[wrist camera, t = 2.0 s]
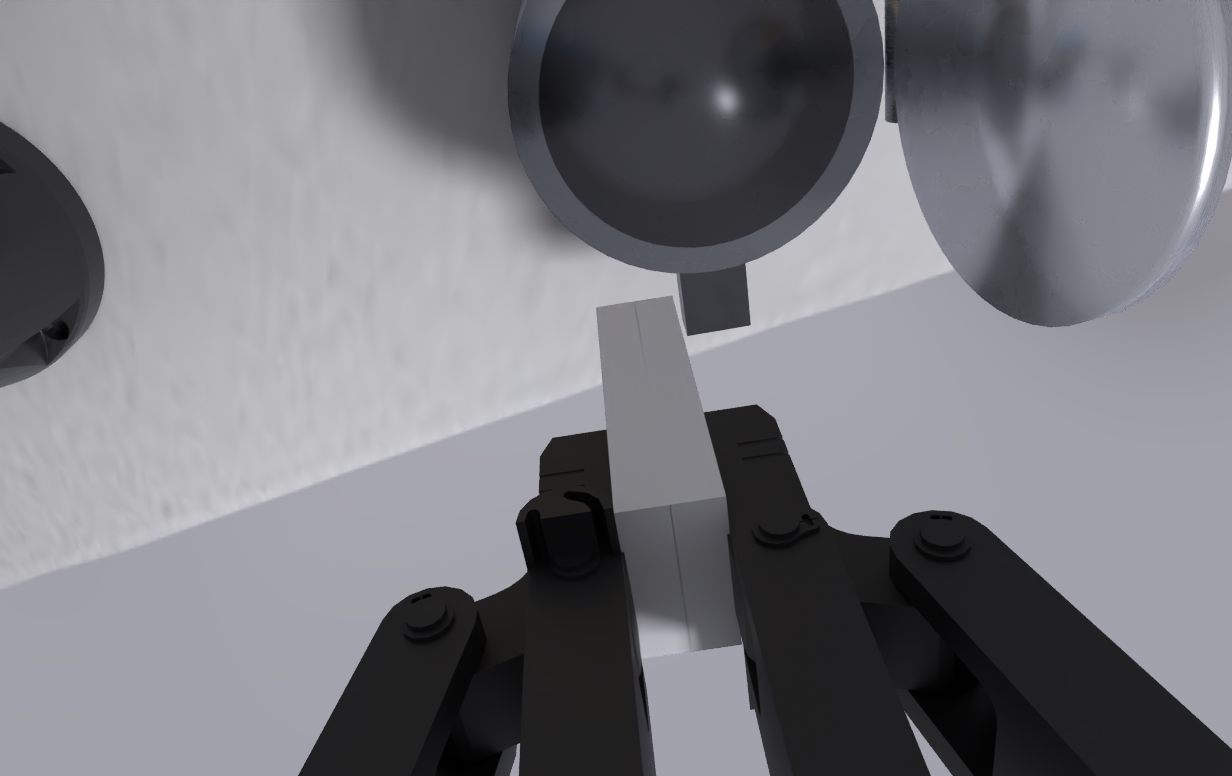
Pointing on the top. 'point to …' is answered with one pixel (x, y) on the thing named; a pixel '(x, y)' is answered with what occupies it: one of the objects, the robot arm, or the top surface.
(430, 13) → the top surface
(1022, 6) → the lid
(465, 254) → the top surface
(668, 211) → the pot
